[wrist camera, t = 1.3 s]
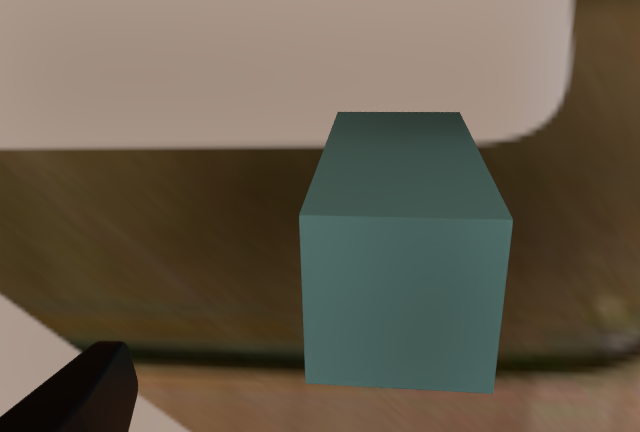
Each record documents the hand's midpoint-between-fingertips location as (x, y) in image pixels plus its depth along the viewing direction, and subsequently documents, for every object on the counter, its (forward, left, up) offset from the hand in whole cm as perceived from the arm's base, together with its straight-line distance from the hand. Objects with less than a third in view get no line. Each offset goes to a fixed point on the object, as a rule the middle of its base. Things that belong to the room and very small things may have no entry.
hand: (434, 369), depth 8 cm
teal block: (-1, 0, -12) cm, 12 cm away
